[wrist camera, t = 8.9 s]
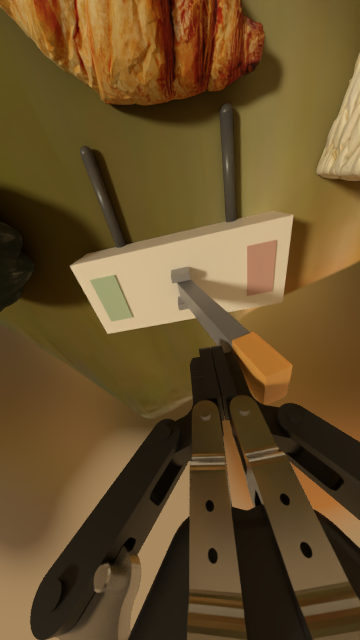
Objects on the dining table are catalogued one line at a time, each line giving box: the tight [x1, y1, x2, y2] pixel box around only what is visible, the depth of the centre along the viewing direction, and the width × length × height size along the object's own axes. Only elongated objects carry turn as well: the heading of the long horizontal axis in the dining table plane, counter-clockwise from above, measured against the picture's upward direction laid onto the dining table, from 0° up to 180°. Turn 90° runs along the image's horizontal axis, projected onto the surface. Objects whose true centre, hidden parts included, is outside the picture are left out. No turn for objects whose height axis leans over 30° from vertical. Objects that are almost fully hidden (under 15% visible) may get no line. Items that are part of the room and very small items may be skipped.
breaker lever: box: [177, 280, 293, 405], centre depth 15 cm, size 3×2×14 cm, turn 12°
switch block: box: [70, 103, 293, 334], centre depth 21 cm, size 20×24×7 cm
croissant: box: [0, 0, 265, 105], centre depth 13 cm, size 21×10×8 cm, turn 79°
